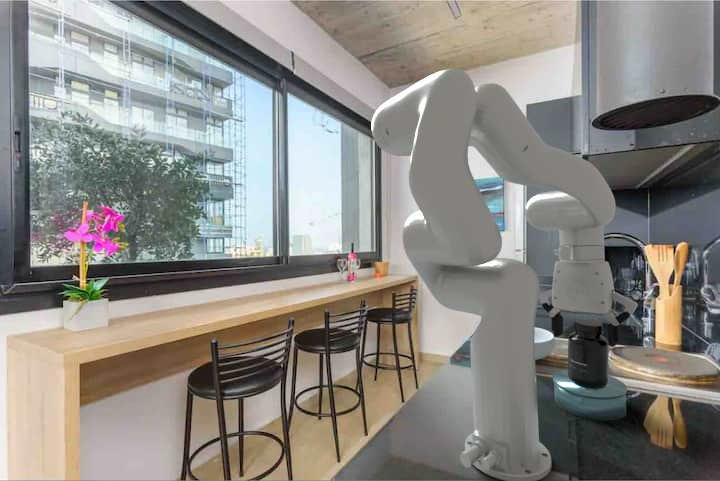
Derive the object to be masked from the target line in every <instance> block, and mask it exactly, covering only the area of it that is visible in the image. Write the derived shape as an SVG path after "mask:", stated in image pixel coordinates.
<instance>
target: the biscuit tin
mask: <svg viewBox="0 0 720 481" xmlns="http://www.w3.org/2000/svg"><path fill="white" fill-rule="evenodd" d="M552 381H553V384H554V387H553V388H554V390H553V391H554V402H555V403H556V405H557V406H558V407H559V408H561V410H564V411H566V412H568V413H570V414H572V415H575V416H578V417H581V418H586V419H589V420H594V421H605V422H606V421H608V422H609V421H617V420H621V419H623V418H625V417H626V416H627V400H626V399H627V398H626V397H627V393H628V391H627V390H628V387H627V385H626V384H625V383H624V382H623V381H622V380H619V379H617V378H616V377H614V376H612V375H611V376H610V375H609V374H608V383H607V385H606V386H604V387H602V388H590V387H585V386H582V385H579V384H577V383H575V382H573V381H572V380H571V379H570V378H569V377H568V369H562V370H558V371H556V372H555V373H553V374H552Z"/></svg>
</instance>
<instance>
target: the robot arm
mask: <svg viewBox="0 0 720 481" xmlns="http://www.w3.org/2000/svg"><path fill="white" fill-rule="evenodd" d="M371 134H372V137H373V140H374V142H375V143H376V144H377V146H378V147H379V148H380V149H381V150H382V151H384V152H385V153H386V154H389V155H391V156H394V157H410V161H409V169H408V185H409V190H410V192H411V195H412V198H413V199H414V202H415V204H416V206H417V207H418V209H419V210H417V211H414V213H412V214H411V215H409V217H408V218H407V219H406V221H405V223H404V225H403V230H402V245H403V250H404V252H405V254H406V256H407V258H408V261H409V262H410V263H411V265H412V267H413V268H414V270H415V271H416V273H417V274H418V276H419V277H420V278H421V280H422V281H423V283H424V285H425V286H426V287H427V289H428V290H429V292H430V294H431V295H432V297H433V298H434V299H435V300H436V301H437V303H439V304H440V305H441V306H442V307H444V308H447V309H449V310H451V311H452V310H454V311H457V312H463V313H466V314H473V315H476V316H479V317H480V321H479V324H478V325H477V327H476V329H475V330H474V332H473V334H472V336H471V339H470V344H469V357H470V372H471V386H472V387H471V390H472V391H471V392H472V413H473V432H471V433H470V434H468V436H467V438H466V439H465V441H464V451H462V452H461V453H460V454H459V460H460V463H461V465H462V466H464V467H465V468H470V467H471V466H474V467H475V468H477V469H478V470H479V471H481V472H482V473H484V474H486V475H488V476H489V477H492V478H494V479H495V478H496V479H499V480H501V481H539V480H542V479H543V478H546V477H547V475H549V473H550V472H551V469H552V456H551V454H550V451H549V449H547V448H546V447H545V445H544V444H543V443H541V442H540V439H539V438H540V435H539V434H540V432H539V414H538V413H539V412H538V393H537V392H538V389H537V370H536V367H537V365H536V361H535V344H534V332H535V327H536V316H537V311H538V304H539V302H540V304H541V308H543V309H544V310H545V311H546V312H547V313H548V316H549V317H550V319H551V331H552V332H553V335H554V338H555V337H556V338H558V337H560V336H562V335H564V317H563V315H562V314H561V313H562V312H563V311H565V312H572V313H580V314H589V315H597V316H598V315H599V316H600V315H602V316H604V318H605V319H606V320H607V321H608V322H609V324H608V325H607V341H608V345H609V347H612V348H613V347H616V346H617V345H618V344H619V343H620V342H621V341H622V340H621V339H622V333H621V324H622V323H625V321H626V320H628V319H630V318H631V317H632V316H633V313H634V312H635V311H636V309H637V307H638V306H639V303H637V302H636V301H634V300H633V299H630V298H628V297H626V296H624V295H622V294H621V293H618V292H617V291H615V285H614V279H613V273H612V269H611V266H610V263H609V261H606V260H605V258H606V257H605V235H604V229H605V228H604V227H605V226H607V225H608V224H609V223H610V222H612V220H613V219H614V217H615V214H616V209H617V208H616V199H615V196H614V194H613V192H612V189H611V188H610V186H609V184H608V182H607V181H606V179H605V178H604V176H603V174H602V173H601V172H600V171H599V170H598V168H597V167H596V166H595V165H594V164H592V163H591V162H589V161H588V160H586V159H584V158H583V157H579V156H578V155H575V154H573V153H570V152H568V151H566V150H564V149H561V148H558V147H554V146H551V145H549V144H546V142H544V140H542V137H540V135H539V133H538V132H537V131H536V130H535V129H534V127H533V125H532V124H531V122H530V121H529V120H528V118H527V117H526V115H525V114H524V112H523V111H522V109H521V108H520V107H519V106H518V104H517V102H516V101H515V100H514V98H513V97H512V95H511V94H510V92H508V91H507V89H506V88H505V87H503V86H502V85H500V84H497V83H493V82H491V83H490V82H489V83H488V82H487V83H483V84H480V85H477V86H475V85H474V82H473V80H472V78H471V77H470V75H469V74H468V73H467V72H466V71H464V70H463V69H459V68H447V69H443V70H439V71H437V72H435V73H433V74H430V75H428V76H427V77H425V78H423V79H421V80H419V81H418V82H416V83H415V84H412V85H411V86H410V87H408V88H407V89H405V90H403V91H401V92H400V93H398V94H396V95H395V96H393V97H391V98H390V99H388V100H387V101H385V102H384V103H383V104H381V105H380V106H379V107H378V109H376V111H375V113H374V114H373V116H372V120H371ZM469 147H473V148H474V149H476V151H477V152H478V153H479V154H480V156H482V158H483V159H484V160H485V161H486V162H487V164H489V166H490V167H491V168H492V169H493V171H494V172H495V173H496V174H497V175H498V177H499V178H500V179H502V180H503V181H505V182H508V183H511V184H516V185H521V186H528V187H534V188H542V189H544V188H545V189H549V190H550V191H545V192H541V193H538V194H535V195H534V196H532V197H531V198H530V199H529V200H528V201H527V203H526V205H525V208H524V215H525V219H526V220H527V222H528V223H529V225H530V226H532V227H533V228H535V229H537V230H538V231H539V230H540V231H559V232H558V235H559V237H558V238H559V245H558V248H554V249H553V250H552V254H553V256H557V257H558V259H559V260H557V261H555V263H554V268H553V269H554V270H553V275H552V276H553V277H552V288H550V289H549V290H546V291H543V292H541V293H540V281H539V278H538V276H537V273H536V271H535V270H534V269H533V268H532V267H531V266H530V265H528V264H526V263H525V262H523V261H521V260H518V259H513V258H507V257H498V256H499V254H500V253H501V250H502V249H503V248H502V247H503V237H502V233H501V230H500V228H499V225H498V224H497V221H496V219H495V217H494V216H493V213H492V212H491V209H490V208H489V206H488V203H487V202H486V201H485V198H484V196H483V194H482V191H481V190H480V188H479V186H478V185H477V183H476V180H475V177H474V176H473V173H472V171H471V169H470V164H469V155H468V152H469ZM551 190H552V191H551ZM549 297H551V302H550V301H549ZM616 302H617V303H618V304H621V305H623V306H624V310H623V311H622V312H621V313H620V314H618V312H616V310H615V308H616Z"/></svg>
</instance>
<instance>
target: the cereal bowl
mask: <svg viewBox="0 0 720 481" xmlns="http://www.w3.org/2000/svg"><path fill="white" fill-rule="evenodd" d="M534 344H535V362H536V361H537V360H541V359H544V358H546V357H547V356H549V355H551V353H552V352H553V350H554V349H555V336H554V333H552V332H551V331H550V330H547V329H544V328H540V327H536V326H535V332H534Z"/></svg>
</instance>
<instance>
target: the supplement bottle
mask: <svg viewBox="0 0 720 481" xmlns="http://www.w3.org/2000/svg"><path fill="white" fill-rule="evenodd" d="M573 331H574V332H571V333H570V334H569V336H568V338H567V339H568V340H567V370H568V377H569V378H570V379H571V380H572V381H573V382H575V383H577V384H579V385H582V386H585V387H590V388H602V387H604V386H606V385H607V383H608V375H609V360H610V357H609V355H610V354H609V352H610V351H609V348H610V346H609V345H608V338H606V337H605V336H603V334H604V324H603V323H602V322H600V321H597V320H594V319H585V318H579V319H575V320H574V321H573Z"/></svg>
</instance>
